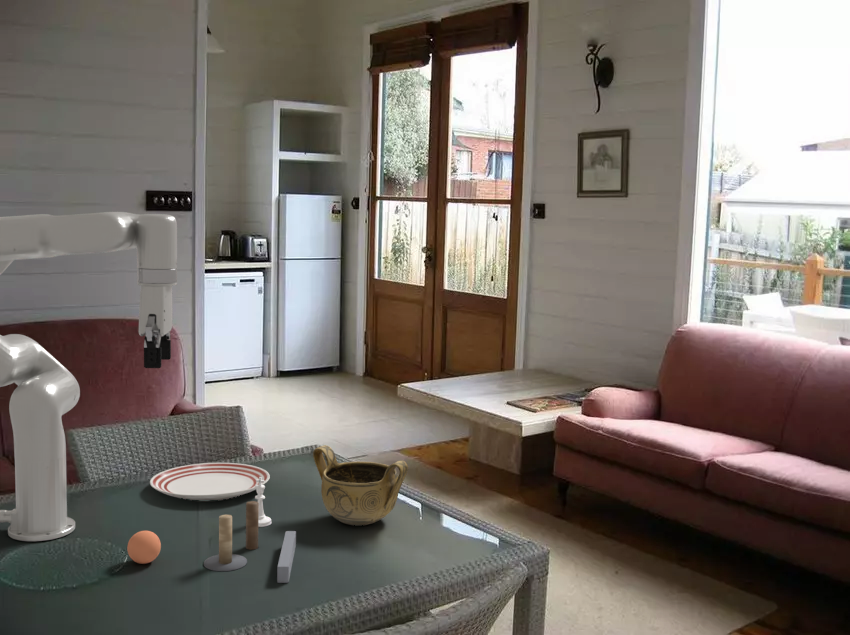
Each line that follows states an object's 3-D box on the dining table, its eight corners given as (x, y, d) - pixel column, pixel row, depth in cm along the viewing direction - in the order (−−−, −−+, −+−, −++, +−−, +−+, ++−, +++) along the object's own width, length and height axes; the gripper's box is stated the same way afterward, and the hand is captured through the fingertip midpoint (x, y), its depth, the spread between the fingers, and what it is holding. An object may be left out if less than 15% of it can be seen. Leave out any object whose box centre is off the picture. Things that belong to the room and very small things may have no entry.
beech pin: (217, 565, 173) (218, 518, 172) (219, 560, 176) (220, 514, 174) (230, 565, 173) (231, 518, 172) (232, 560, 176) (233, 514, 175)
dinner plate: (124, 491, 215) (124, 477, 214) (214, 466, 237) (214, 454, 237) (206, 517, 199) (206, 502, 199) (293, 488, 222) (293, 474, 221)
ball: (123, 568, 170) (123, 537, 169) (131, 556, 176) (131, 525, 175) (157, 568, 171) (156, 537, 170) (163, 556, 177) (163, 526, 176)
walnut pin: (245, 549, 181) (245, 505, 180) (246, 545, 184) (246, 501, 183) (257, 549, 182) (257, 505, 180) (258, 545, 184) (259, 501, 183)
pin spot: (200, 571, 170) (200, 570, 170) (207, 554, 178) (207, 553, 178) (244, 571, 171) (244, 570, 171) (249, 554, 179) (249, 553, 179)
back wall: (277, 582, 166) (277, 566, 166) (285, 545, 184) (285, 531, 184) (288, 582, 166) (288, 566, 166) (295, 545, 184) (295, 531, 184)
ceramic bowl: (293, 522, 198) (294, 453, 196) (337, 500, 213) (339, 437, 211) (383, 543, 187) (385, 470, 185) (423, 519, 202) (425, 452, 200)
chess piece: (266, 528, 194) (267, 481, 192) (244, 525, 195) (244, 479, 193) (275, 520, 198) (275, 475, 197) (253, 518, 199) (253, 472, 198)
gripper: (147, 273, 190) (147, 356, 192) (127, 280, 173) (128, 371, 175) (184, 274, 190) (184, 356, 193) (168, 281, 173) (168, 371, 175)
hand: (157, 363), depth 184 cm, fingers open, 9 cm apart
